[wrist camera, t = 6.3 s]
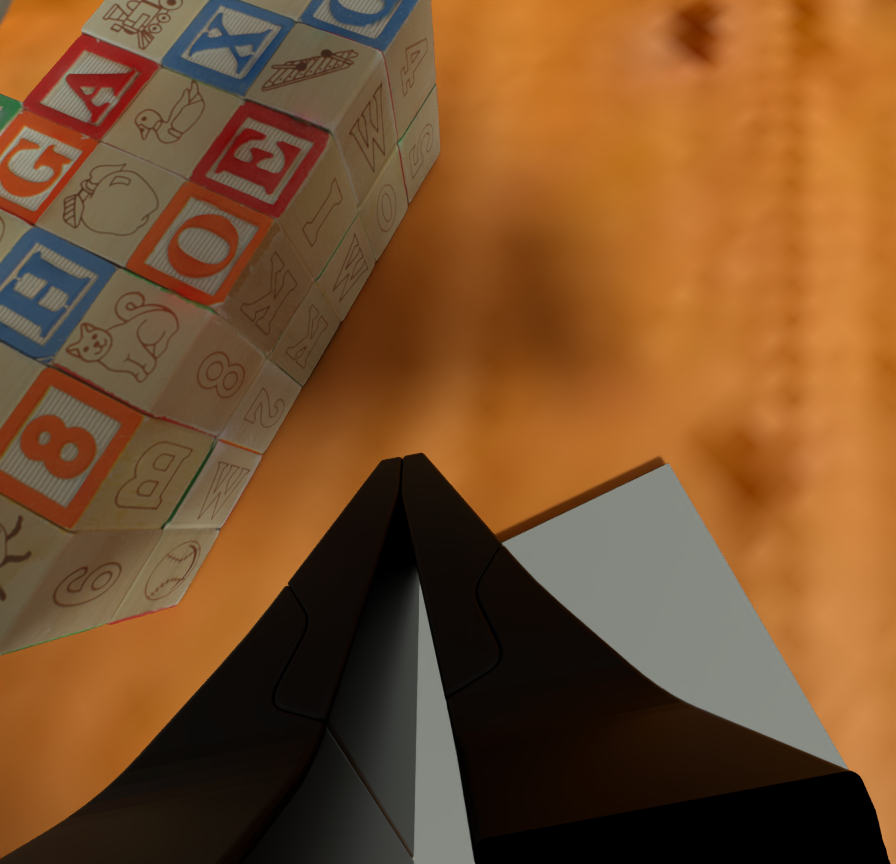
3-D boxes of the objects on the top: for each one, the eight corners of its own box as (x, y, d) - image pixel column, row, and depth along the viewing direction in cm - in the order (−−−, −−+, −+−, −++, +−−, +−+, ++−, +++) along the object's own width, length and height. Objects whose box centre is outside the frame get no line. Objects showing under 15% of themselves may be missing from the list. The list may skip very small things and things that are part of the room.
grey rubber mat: (869, 815, 13) (879, 821, 13) (457, 1041, 12) (457, 1054, 12) (664, 464, 15) (668, 463, 15) (312, 632, 15) (309, 634, 14)
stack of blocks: (446, 155, 19) (219, 66, 20) (438, -24, 13) (114, -131, 14) (175, 610, 15) (-77, 458, 17) (-25, 671, 9) (-395, 419, 10)
